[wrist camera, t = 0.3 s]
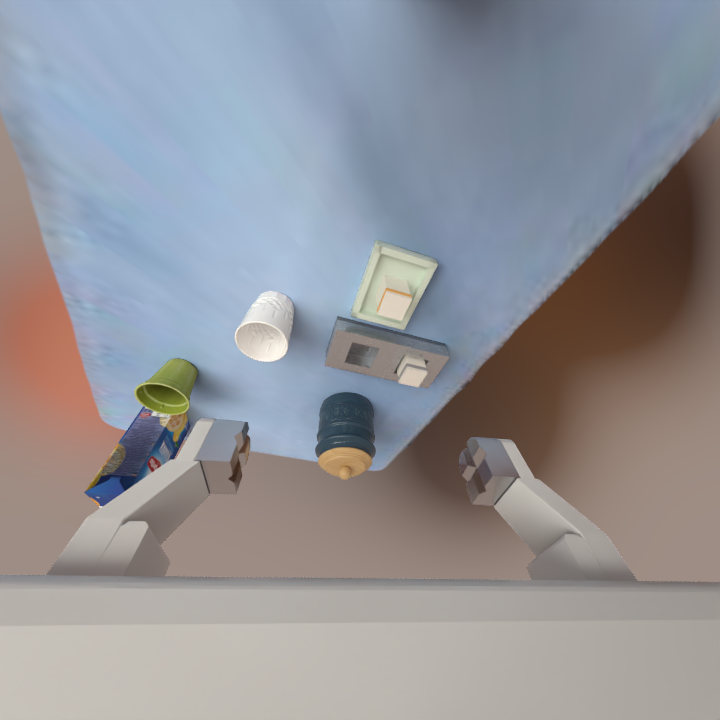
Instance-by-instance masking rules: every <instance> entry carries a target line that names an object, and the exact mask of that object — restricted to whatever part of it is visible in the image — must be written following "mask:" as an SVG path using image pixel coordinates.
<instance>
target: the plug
mask: <svg viewBox="0 0 720 720" xmlns="http://www.w3.org/2000/svg"><path fill="white" fill-rule="evenodd" d="M411 301H412V296H411V294H410V290H409V287H408V283H407V281H406V280H403V279H400V278H396V277H393V276H390V275H386V274H384V275H383V278H382V280H381V283H380V285H379V288H378V290H377V293H376V304H377V314H378V315H381V316H385V317H388V318H392V319H396V320H400V321H402V319H403V317H404V315H405V313H406V311H407V309H408V307H409V305H410V303H411Z"/></svg>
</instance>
